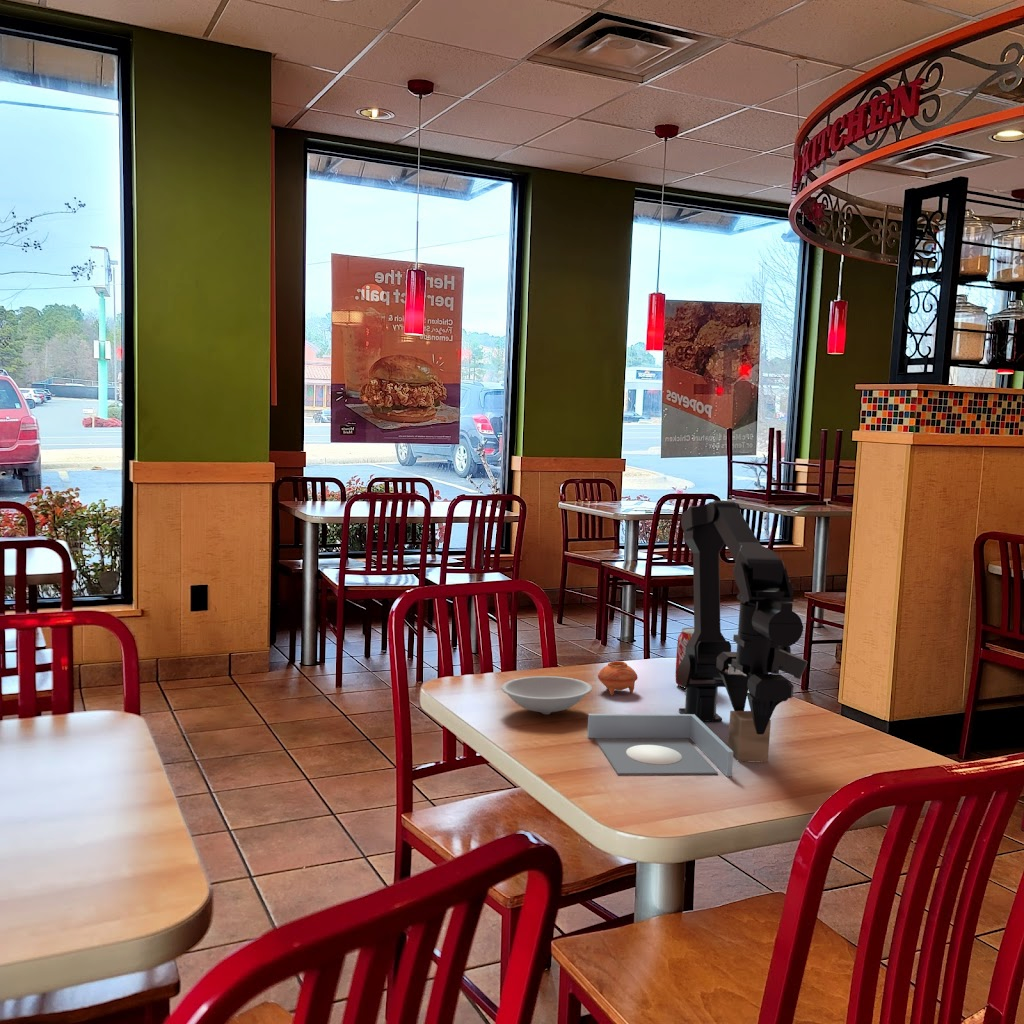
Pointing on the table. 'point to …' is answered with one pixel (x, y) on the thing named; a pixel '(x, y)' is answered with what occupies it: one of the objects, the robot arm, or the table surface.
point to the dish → (546, 692)
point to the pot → (618, 676)
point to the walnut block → (747, 738)
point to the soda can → (682, 646)
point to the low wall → (663, 732)
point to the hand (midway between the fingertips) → (749, 724)
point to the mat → (654, 756)
